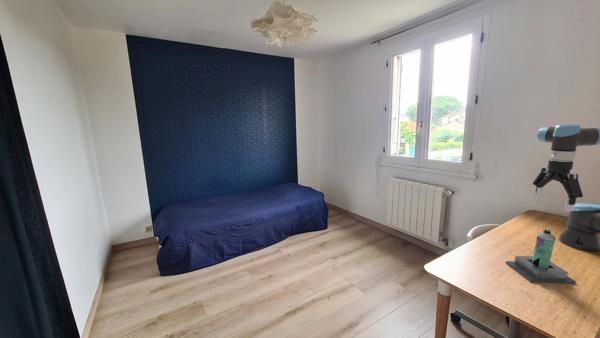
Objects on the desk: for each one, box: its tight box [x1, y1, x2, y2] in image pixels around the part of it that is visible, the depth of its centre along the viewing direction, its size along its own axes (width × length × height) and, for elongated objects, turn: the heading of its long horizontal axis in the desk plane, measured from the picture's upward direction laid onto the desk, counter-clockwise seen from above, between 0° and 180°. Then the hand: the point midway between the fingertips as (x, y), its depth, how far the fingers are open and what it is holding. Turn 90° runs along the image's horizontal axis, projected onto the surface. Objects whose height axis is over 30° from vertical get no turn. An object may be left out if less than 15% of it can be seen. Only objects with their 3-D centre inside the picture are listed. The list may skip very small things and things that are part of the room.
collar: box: [505, 255, 577, 285], centre depth 110 cm, size 18×14×4 cm
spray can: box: [532, 228, 556, 268], centre depth 108 cm, size 6×6×20 cm
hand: (552, 205), depth 112 cm, fingers open, 13 cm apart
